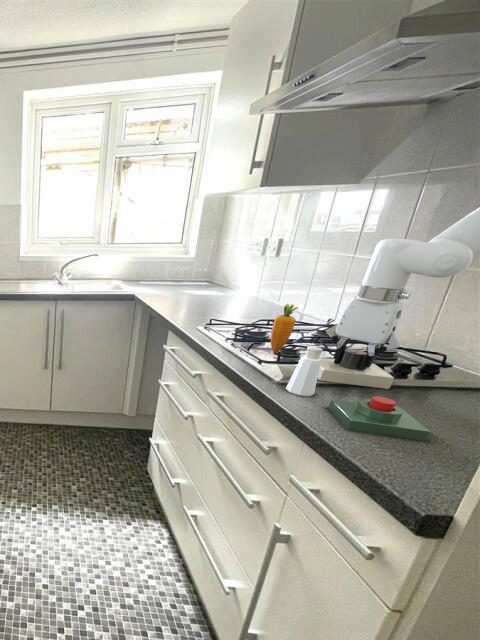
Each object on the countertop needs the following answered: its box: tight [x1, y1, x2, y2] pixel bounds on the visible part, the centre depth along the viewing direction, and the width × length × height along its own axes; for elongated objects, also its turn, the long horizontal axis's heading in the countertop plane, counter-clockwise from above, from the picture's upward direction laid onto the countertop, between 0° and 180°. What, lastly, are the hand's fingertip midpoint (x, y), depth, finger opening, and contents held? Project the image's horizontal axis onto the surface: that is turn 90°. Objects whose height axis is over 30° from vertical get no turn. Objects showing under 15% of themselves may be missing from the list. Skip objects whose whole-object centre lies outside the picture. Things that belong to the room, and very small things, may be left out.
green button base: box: [327, 398, 431, 442], centre depth 84 cm, size 12×10×4 cm
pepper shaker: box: [285, 345, 323, 397], centre depth 96 cm, size 5×5×11 cm
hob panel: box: [317, 357, 395, 390], centre depth 106 cm, size 14×10×3 cm
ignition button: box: [369, 395, 397, 411], centre depth 83 cm, size 4×4×2 cm
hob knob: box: [339, 348, 367, 370], centre depth 105 cm, size 4×4×4 cm
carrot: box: [270, 303, 299, 354], centre depth 120 cm, size 5×5×15 cm
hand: (350, 365), depth 105 cm, fingers closed on hob knob, 4 cm apart
